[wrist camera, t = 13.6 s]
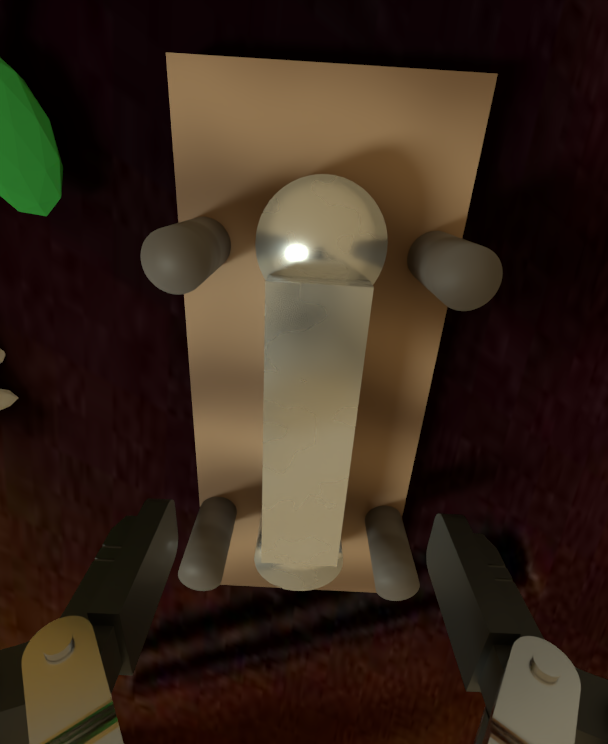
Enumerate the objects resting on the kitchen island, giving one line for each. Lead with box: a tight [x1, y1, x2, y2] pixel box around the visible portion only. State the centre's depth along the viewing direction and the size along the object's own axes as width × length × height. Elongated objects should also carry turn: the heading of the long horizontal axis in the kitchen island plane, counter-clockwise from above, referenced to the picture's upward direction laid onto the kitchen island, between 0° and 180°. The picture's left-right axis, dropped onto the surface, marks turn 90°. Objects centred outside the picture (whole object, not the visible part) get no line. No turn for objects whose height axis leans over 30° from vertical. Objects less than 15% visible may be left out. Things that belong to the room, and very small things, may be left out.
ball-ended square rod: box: [254, 174, 388, 591], centre depth 17 cm, size 4×19×4 cm, turn 177°
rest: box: [141, 52, 503, 601], centre depth 18 cm, size 26×11×6 cm, turn 177°
